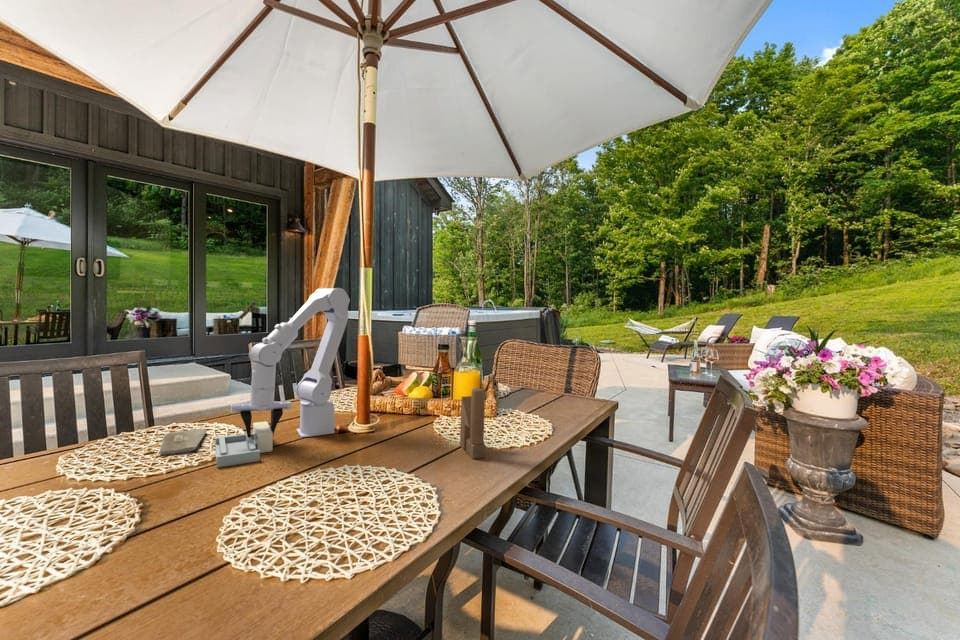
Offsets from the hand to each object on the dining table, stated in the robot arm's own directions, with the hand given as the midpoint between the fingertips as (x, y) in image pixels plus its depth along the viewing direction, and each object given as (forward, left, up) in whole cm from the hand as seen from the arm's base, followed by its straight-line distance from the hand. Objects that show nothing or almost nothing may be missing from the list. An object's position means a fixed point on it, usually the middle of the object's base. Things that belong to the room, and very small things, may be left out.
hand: (260, 437), depth 117 cm
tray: (+6, +4, -2) cm, 7 cm away
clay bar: (-1, 0, -2) cm, 2 cm away
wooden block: (-49, +31, -3) cm, 58 cm away
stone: (+18, -11, -3) cm, 21 cm away
